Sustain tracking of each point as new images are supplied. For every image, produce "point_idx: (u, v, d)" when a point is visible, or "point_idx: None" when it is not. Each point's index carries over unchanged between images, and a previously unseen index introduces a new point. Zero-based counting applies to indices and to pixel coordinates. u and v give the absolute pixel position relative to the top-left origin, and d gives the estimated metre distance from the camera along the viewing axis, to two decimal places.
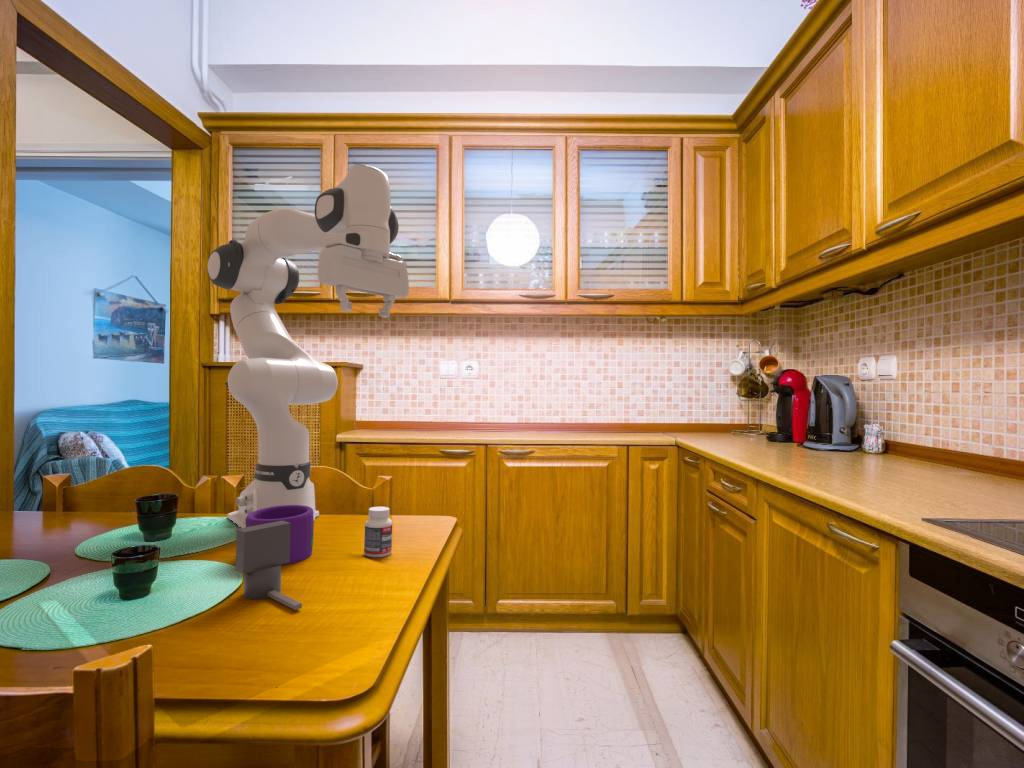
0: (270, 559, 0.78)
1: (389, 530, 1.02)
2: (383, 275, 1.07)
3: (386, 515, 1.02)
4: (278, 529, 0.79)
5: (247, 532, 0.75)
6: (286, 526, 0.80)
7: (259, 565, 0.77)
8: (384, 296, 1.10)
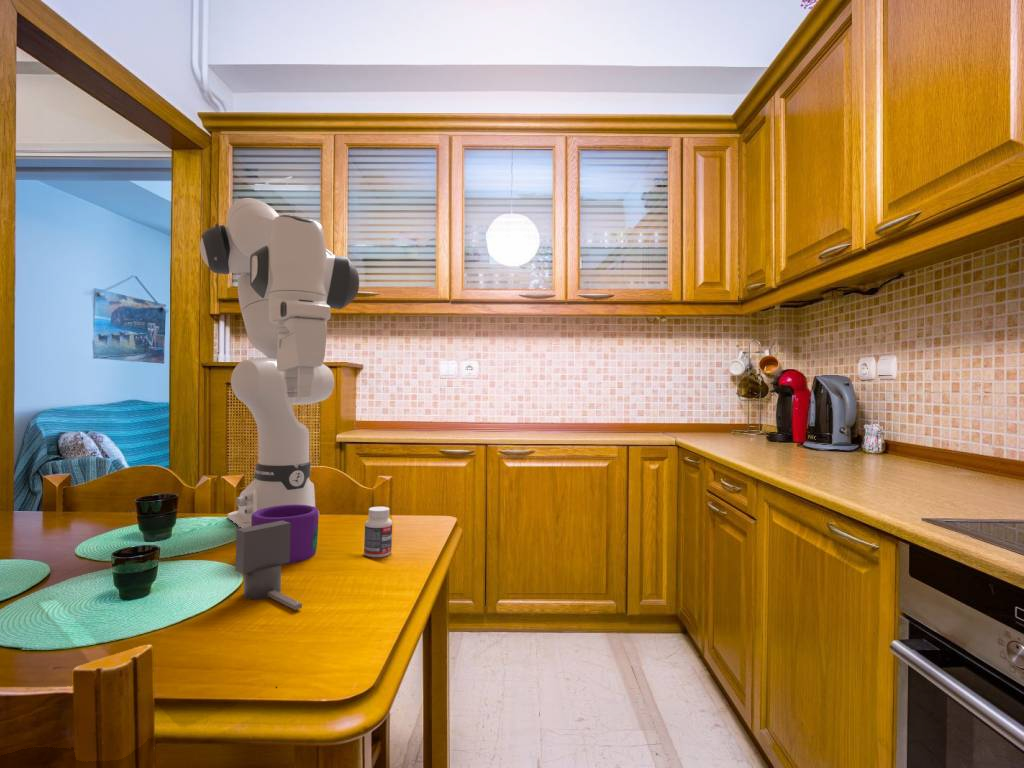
0: (270, 559, 0.78)
1: (389, 530, 1.02)
2: None
3: (386, 515, 1.02)
4: (278, 529, 0.79)
5: (247, 532, 0.75)
6: (286, 526, 0.80)
7: (259, 565, 0.77)
8: (288, 371, 0.90)
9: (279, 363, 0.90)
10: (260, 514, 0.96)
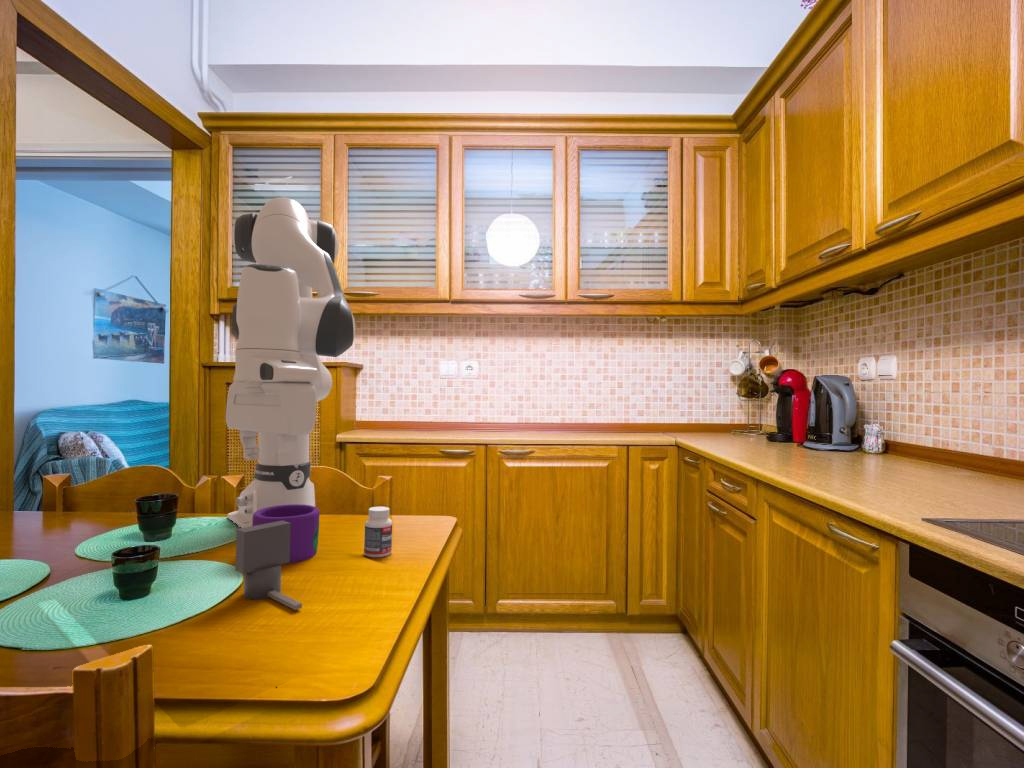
0: (270, 559, 0.78)
1: (389, 530, 1.02)
2: None
3: (386, 515, 1.02)
4: (278, 529, 0.79)
5: (247, 532, 0.75)
6: (286, 526, 0.80)
7: (259, 565, 0.77)
8: (246, 430, 0.81)
9: (235, 421, 0.81)
10: (261, 513, 0.96)
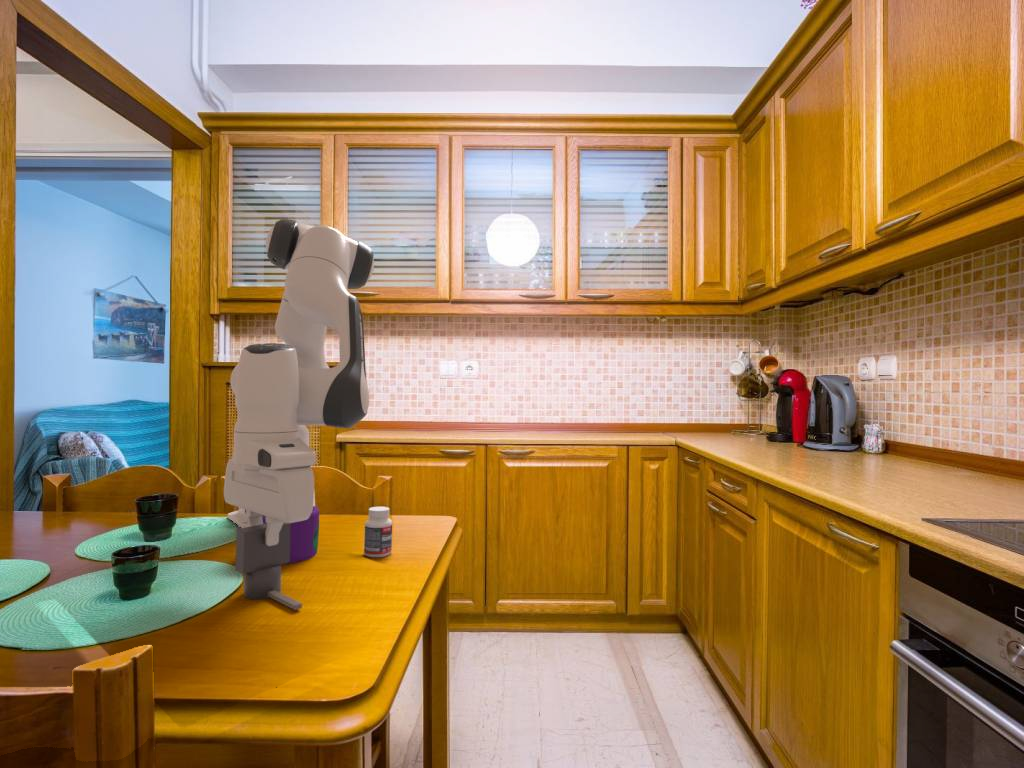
0: (270, 559, 0.78)
1: (389, 530, 1.02)
2: None
3: (386, 515, 1.02)
4: None
5: (247, 532, 0.75)
6: (286, 526, 0.80)
7: (259, 565, 0.77)
8: None
9: (232, 498, 0.81)
10: None
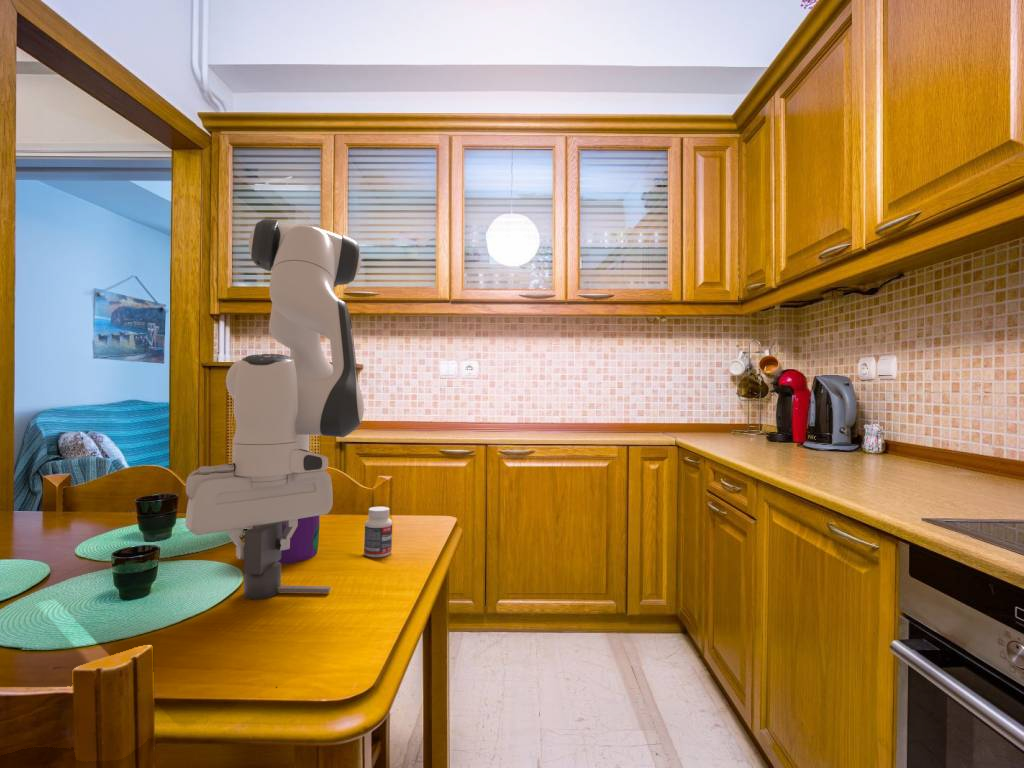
0: (272, 557, 0.79)
1: (389, 530, 1.02)
2: None
3: (386, 515, 1.02)
4: (276, 527, 0.80)
5: (262, 532, 0.75)
6: (280, 524, 0.81)
7: (267, 564, 0.77)
8: None
9: (221, 523, 0.73)
10: None
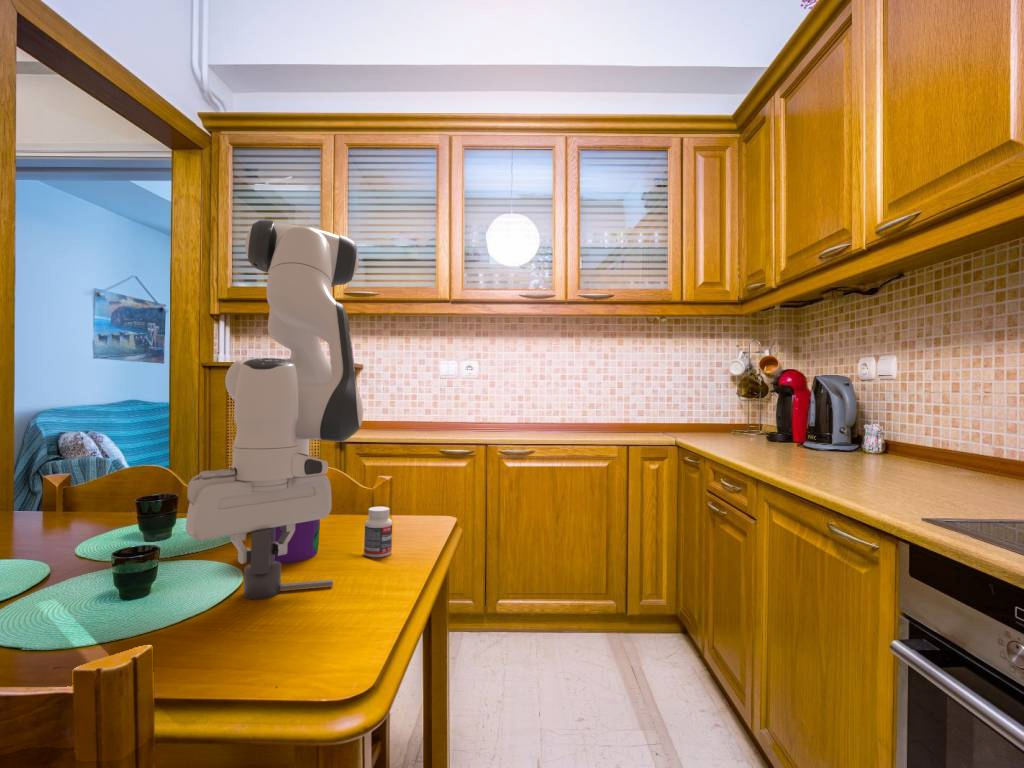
0: (272, 556, 0.79)
1: (389, 530, 1.02)
2: None
3: (386, 515, 1.02)
4: None
5: (270, 531, 0.76)
6: None
7: (271, 563, 0.78)
8: None
9: (223, 528, 0.72)
10: None
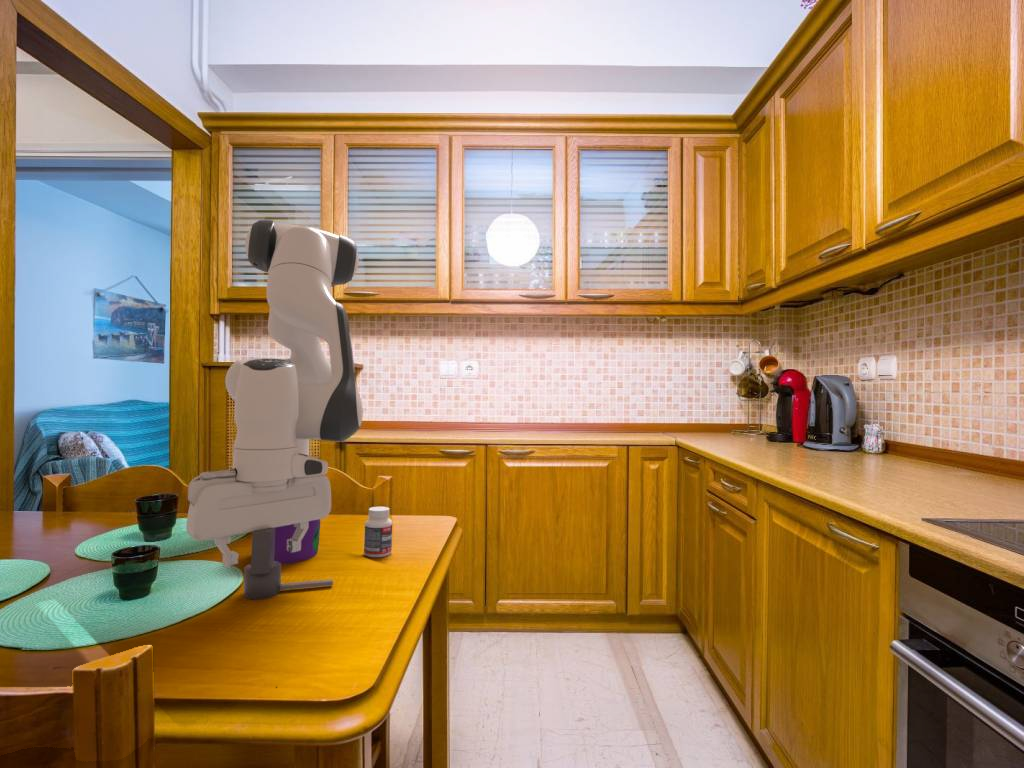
0: (272, 556, 0.79)
1: (389, 530, 1.02)
2: None
3: (386, 515, 1.02)
4: None
5: (270, 531, 0.76)
6: None
7: (271, 563, 0.78)
8: None
9: (223, 529, 0.72)
10: None
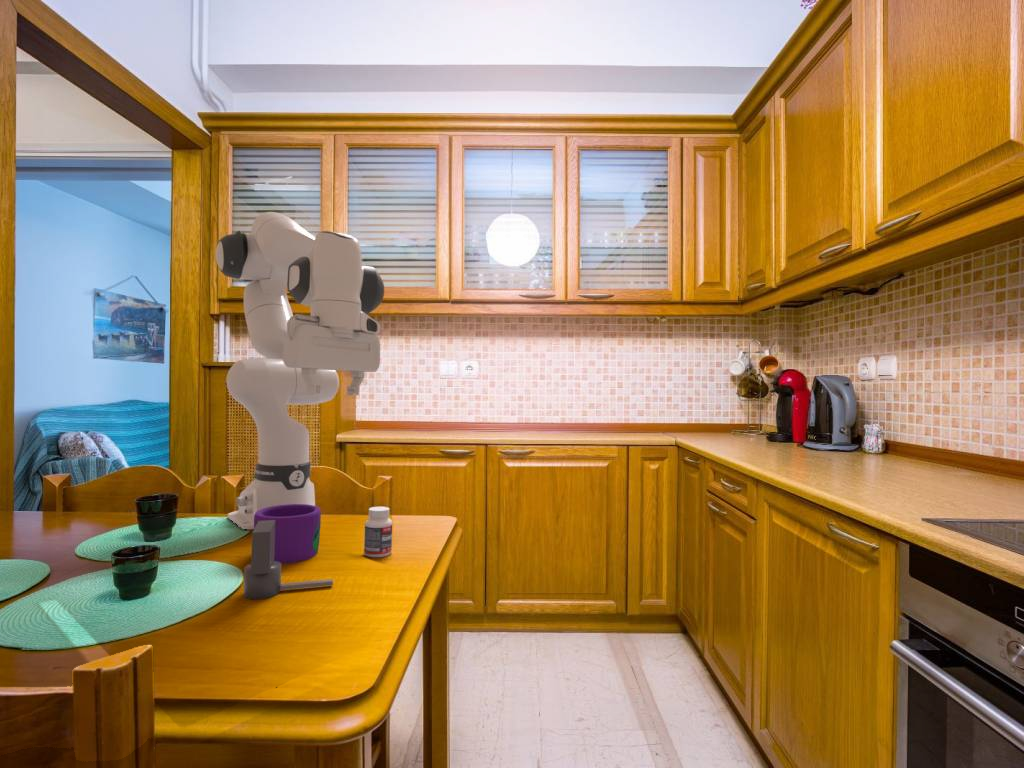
0: (272, 556, 0.79)
1: (389, 530, 1.02)
2: None
3: (386, 515, 1.02)
4: (274, 526, 0.80)
5: (270, 531, 0.76)
6: (274, 523, 0.82)
7: (271, 563, 0.78)
8: None
9: (314, 361, 0.89)
10: (264, 512, 0.97)
